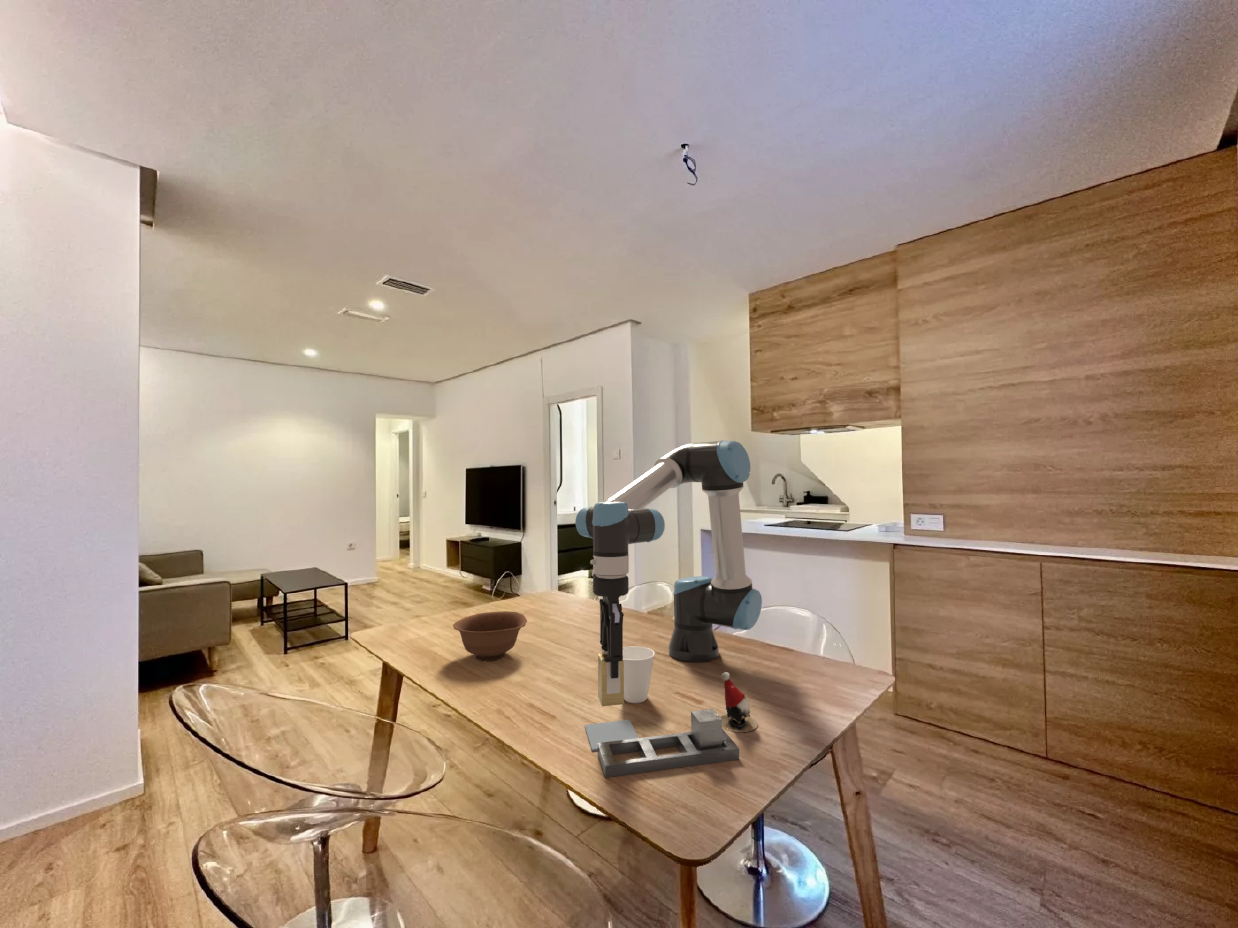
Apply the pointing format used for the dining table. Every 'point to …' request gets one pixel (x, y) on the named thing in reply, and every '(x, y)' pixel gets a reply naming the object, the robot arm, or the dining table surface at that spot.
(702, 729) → the block
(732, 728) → the figurine
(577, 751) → the dining table surface
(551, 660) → the dining table surface
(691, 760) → the grey block holder tray
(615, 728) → the mat
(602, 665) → the block
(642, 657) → the cup
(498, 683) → the dining table surface
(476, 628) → the bowl
